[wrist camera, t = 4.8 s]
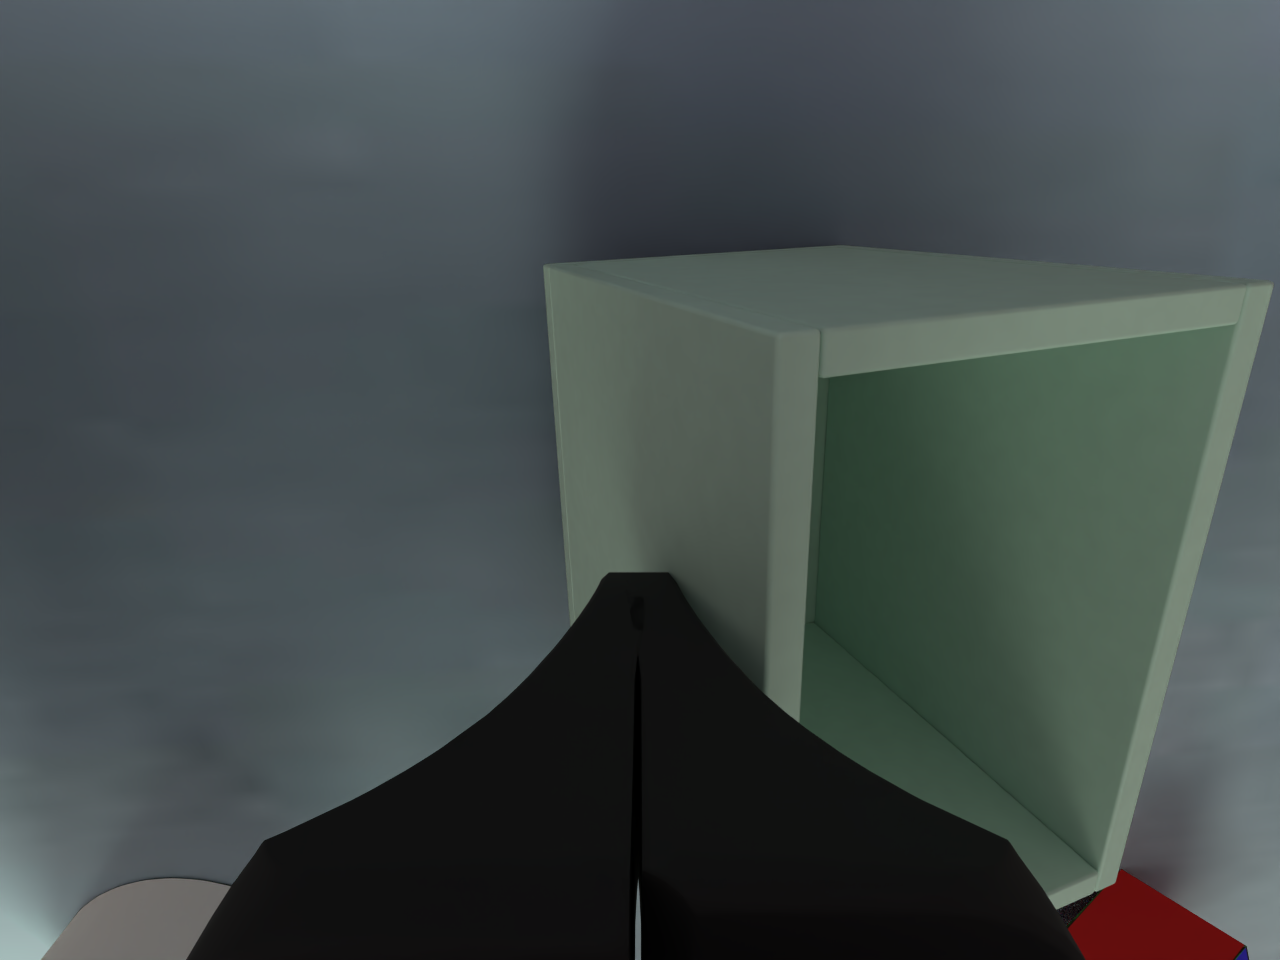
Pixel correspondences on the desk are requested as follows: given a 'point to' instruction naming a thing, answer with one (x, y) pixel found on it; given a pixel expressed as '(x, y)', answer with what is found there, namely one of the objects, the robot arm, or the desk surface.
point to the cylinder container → (141, 922)
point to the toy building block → (1147, 927)
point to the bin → (917, 502)
